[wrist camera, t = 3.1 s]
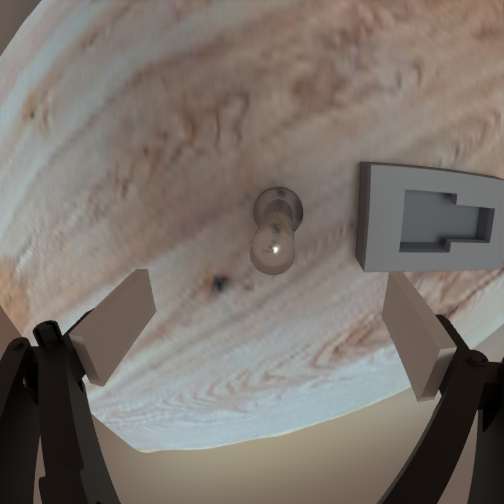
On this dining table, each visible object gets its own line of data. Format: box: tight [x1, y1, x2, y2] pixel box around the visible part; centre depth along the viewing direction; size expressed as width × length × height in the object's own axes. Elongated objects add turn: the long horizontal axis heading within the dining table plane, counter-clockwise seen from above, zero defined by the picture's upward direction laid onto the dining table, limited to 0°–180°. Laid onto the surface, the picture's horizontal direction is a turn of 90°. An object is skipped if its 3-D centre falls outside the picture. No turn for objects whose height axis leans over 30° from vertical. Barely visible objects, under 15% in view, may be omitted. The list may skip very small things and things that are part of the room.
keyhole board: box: [356, 162, 504, 272], centre depth 28 cm, size 20×11×4 cm, turn 92°
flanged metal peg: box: [250, 187, 303, 275], centre depth 26 cm, size 5×5×14 cm
